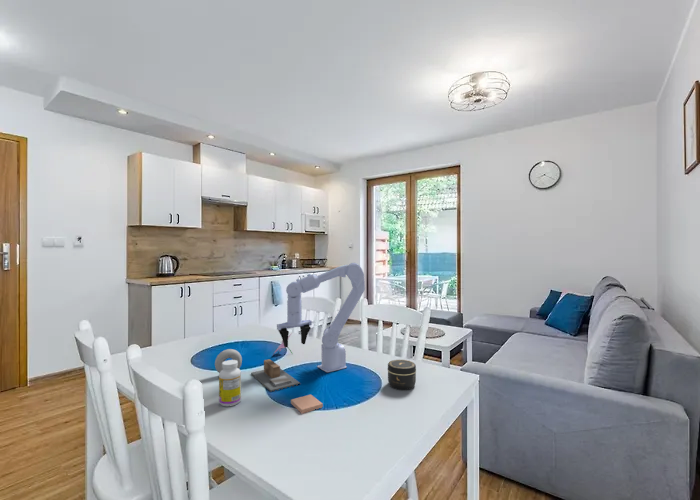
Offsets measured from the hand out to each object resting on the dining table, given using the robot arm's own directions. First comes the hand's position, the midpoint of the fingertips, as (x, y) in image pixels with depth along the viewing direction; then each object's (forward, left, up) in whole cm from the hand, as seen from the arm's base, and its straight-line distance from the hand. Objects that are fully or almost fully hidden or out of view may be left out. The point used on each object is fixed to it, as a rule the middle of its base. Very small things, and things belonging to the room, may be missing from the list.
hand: (294, 345), depth 140 cm
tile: (+11, +28, -9) cm, 31 cm away
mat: (+11, +6, -9) cm, 16 cm away
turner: (+11, +6, -9) cm, 15 cm away
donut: (+24, -8, -10) cm, 27 cm away
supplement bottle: (+30, +16, -10) cm, 35 cm away
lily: (-4, -20, -10) cm, 23 cm away
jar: (-24, +37, -10) cm, 45 cm away
